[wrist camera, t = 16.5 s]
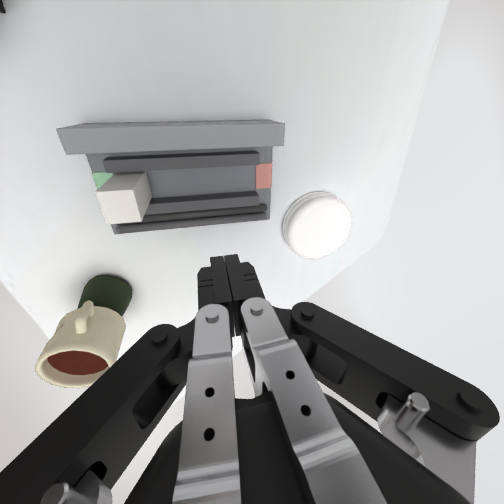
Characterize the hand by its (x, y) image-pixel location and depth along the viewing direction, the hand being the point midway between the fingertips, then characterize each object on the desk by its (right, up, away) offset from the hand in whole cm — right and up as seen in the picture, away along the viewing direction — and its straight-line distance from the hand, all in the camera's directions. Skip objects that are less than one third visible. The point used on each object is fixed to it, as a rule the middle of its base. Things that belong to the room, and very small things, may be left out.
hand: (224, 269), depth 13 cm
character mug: (-20, -5, +23) cm, 31 cm away
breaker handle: (-12, +9, +14) cm, 20 cm away
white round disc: (+11, +6, +24) cm, 27 cm away
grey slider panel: (-6, +10, +17) cm, 20 cm away
